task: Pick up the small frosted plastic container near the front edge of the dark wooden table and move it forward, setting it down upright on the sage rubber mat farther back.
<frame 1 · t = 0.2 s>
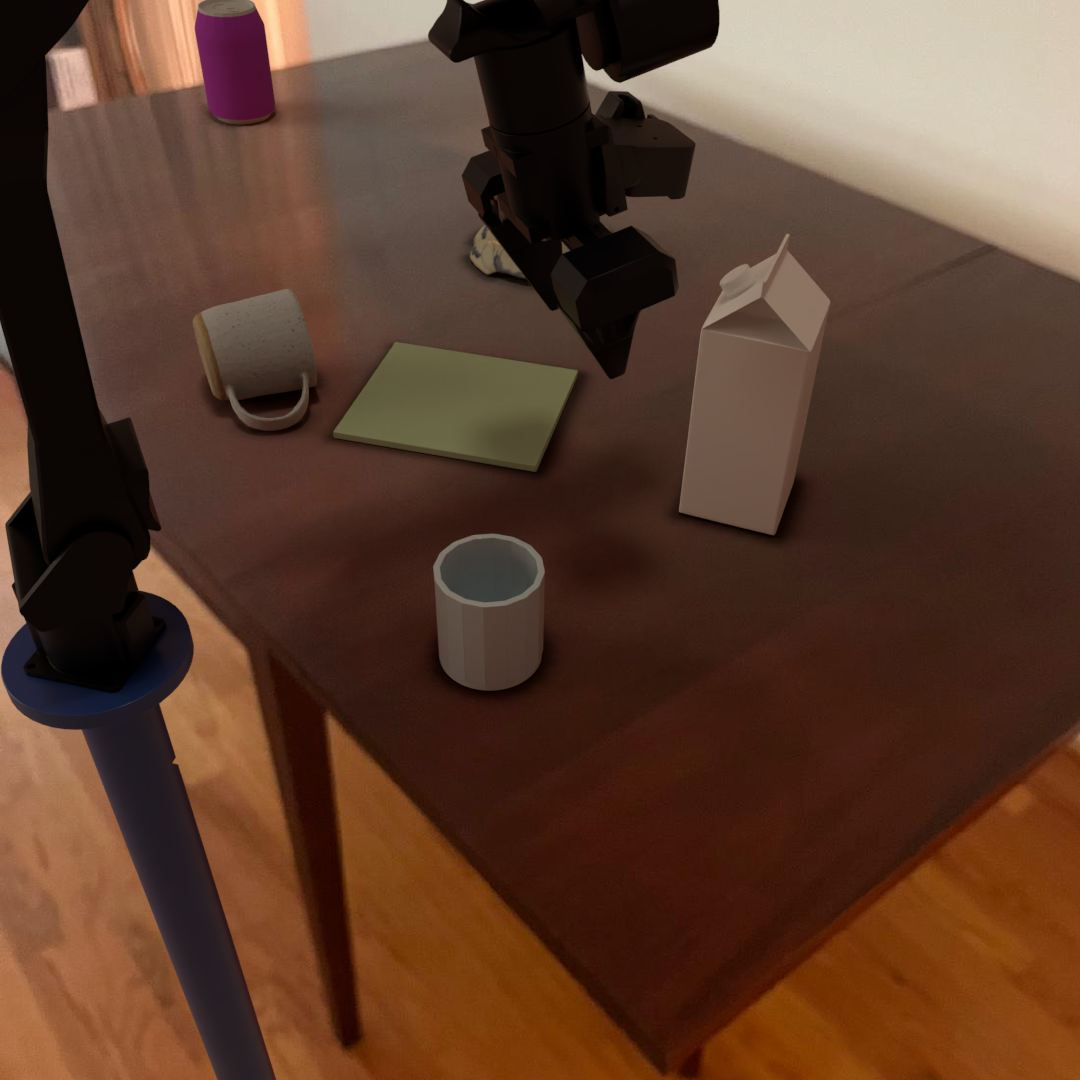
hand: (585, 340, 75), 13 cm above the table, tool pointing down, fingers open, 9 cm apart
mat: (461, 405, 91), on the table
container: (490, 653, 71), on the table
milk carton: (736, 500, 84), on the table
decorative bowl: (546, 255, 112), on the table
ceramic mug: (270, 398, 91), on the table
beverage can: (243, 116, 135), on the table
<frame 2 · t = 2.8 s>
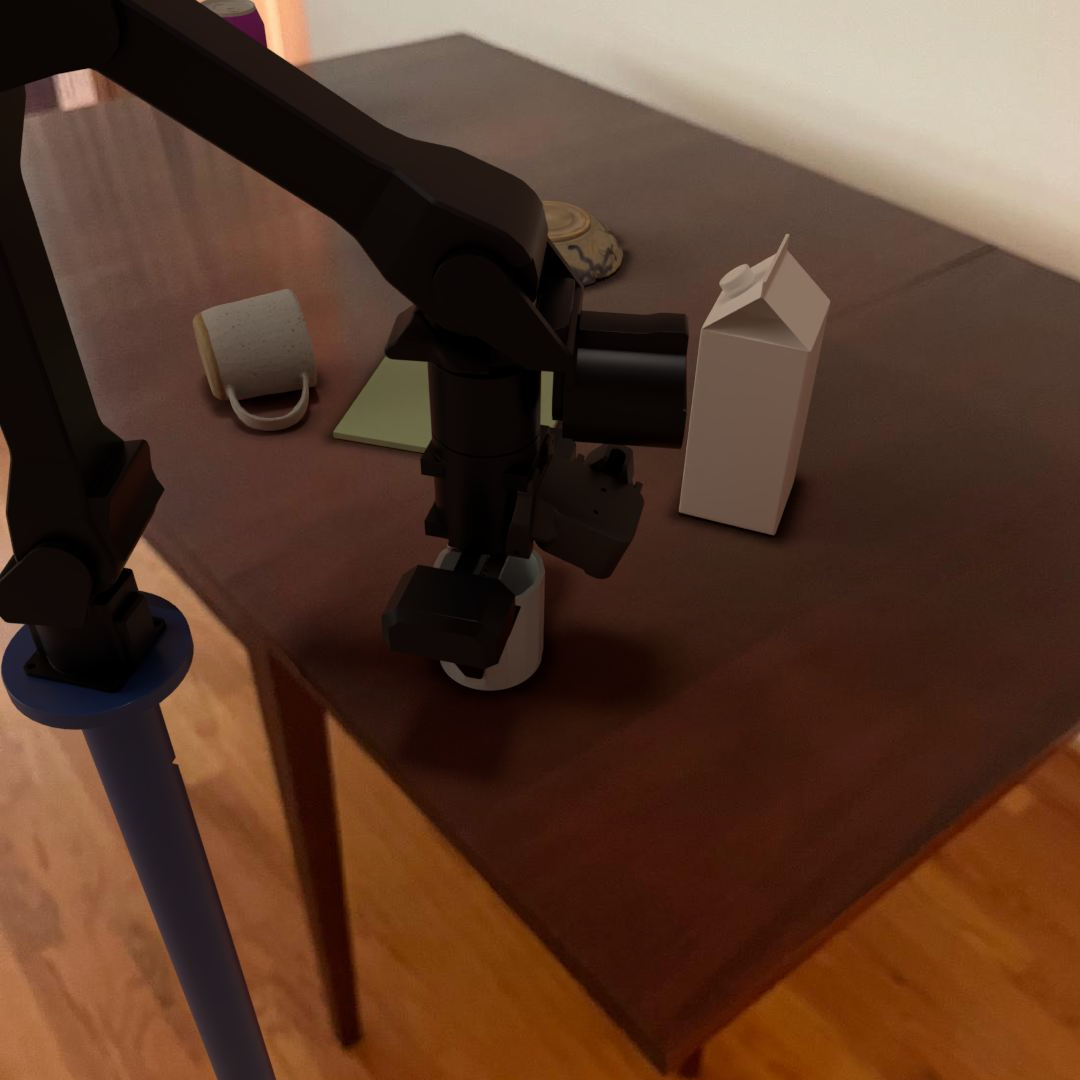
hand: (490, 638, 70), 1 cm above the table, tool pointing down, fingers closed on container, 6 cm apart
container: (490, 653, 71), on the table, touching gripper
everything else where it was.
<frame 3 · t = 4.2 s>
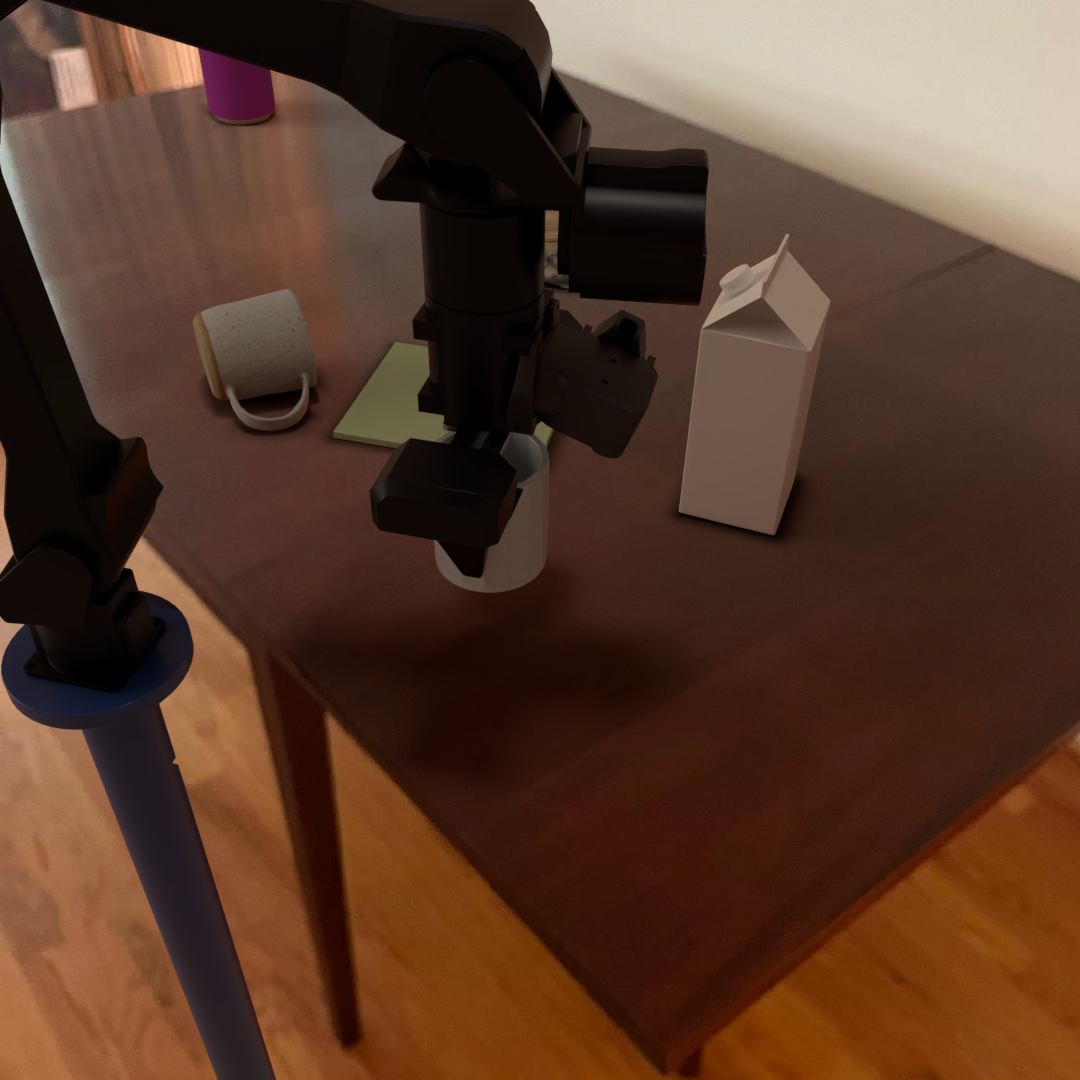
hand: (489, 537, 65), 9 cm above the table, tool pointing down, fingers closed on container, 6 cm apart
container: (491, 555, 66), point 8 cm above the table, touching gripper
everything else where it was.
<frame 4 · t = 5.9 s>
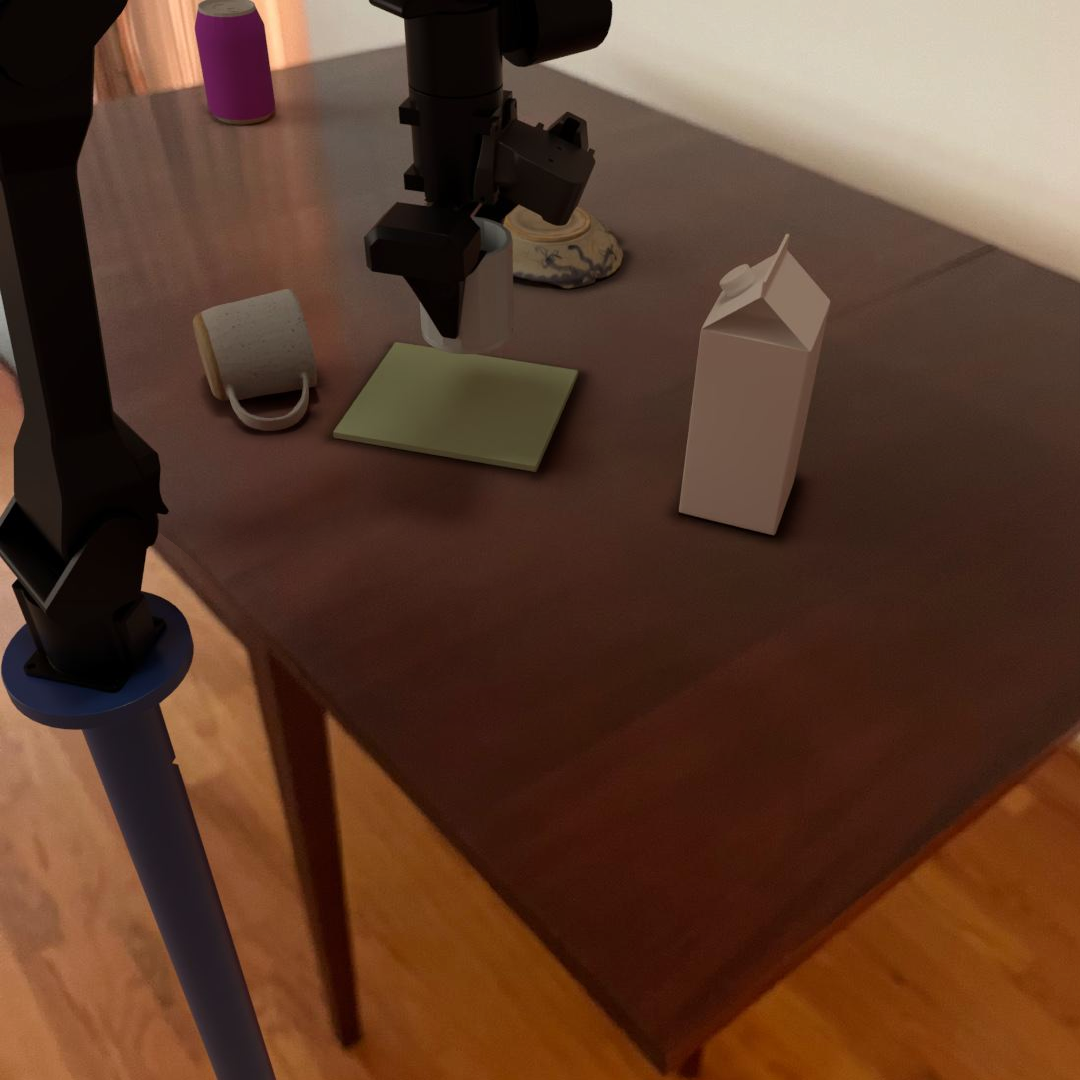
hand: (465, 313, 80), 11 cm above the table, tool pointing down, fingers closed on container, 6 cm apart
container: (467, 330, 80), point 10 cm above the table, touching gripper
everything else where it was.
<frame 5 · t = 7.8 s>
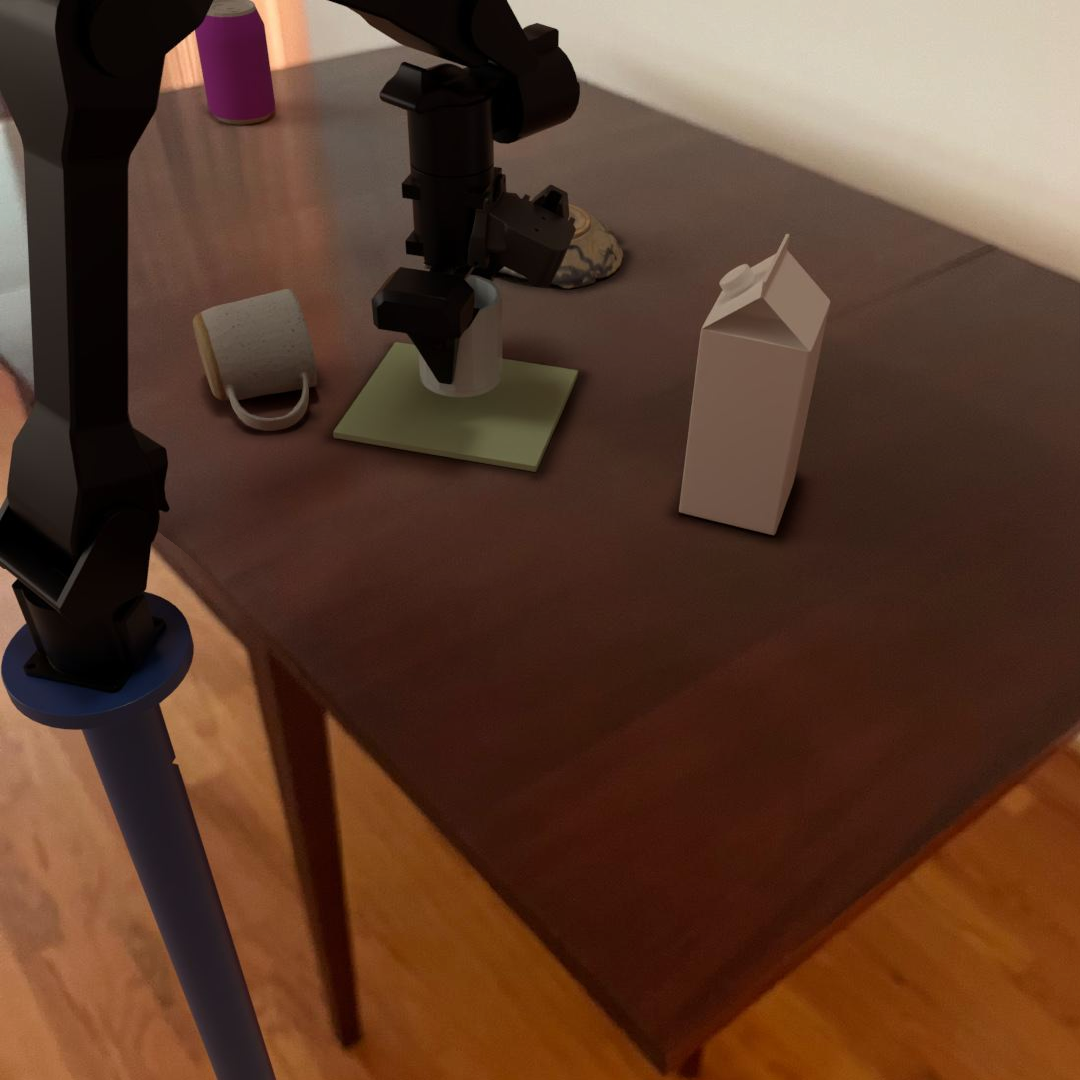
hand: (459, 360, 89), 4 cm above the table, tool pointing down, fingers closed on container, 6 cm apart
container: (460, 375, 89), point 3 cm above the table, touching gripper
everything else where it was.
when the fingers open (2 cm above the table, at t = 9.0 s): container stays where it is, resting on mat.
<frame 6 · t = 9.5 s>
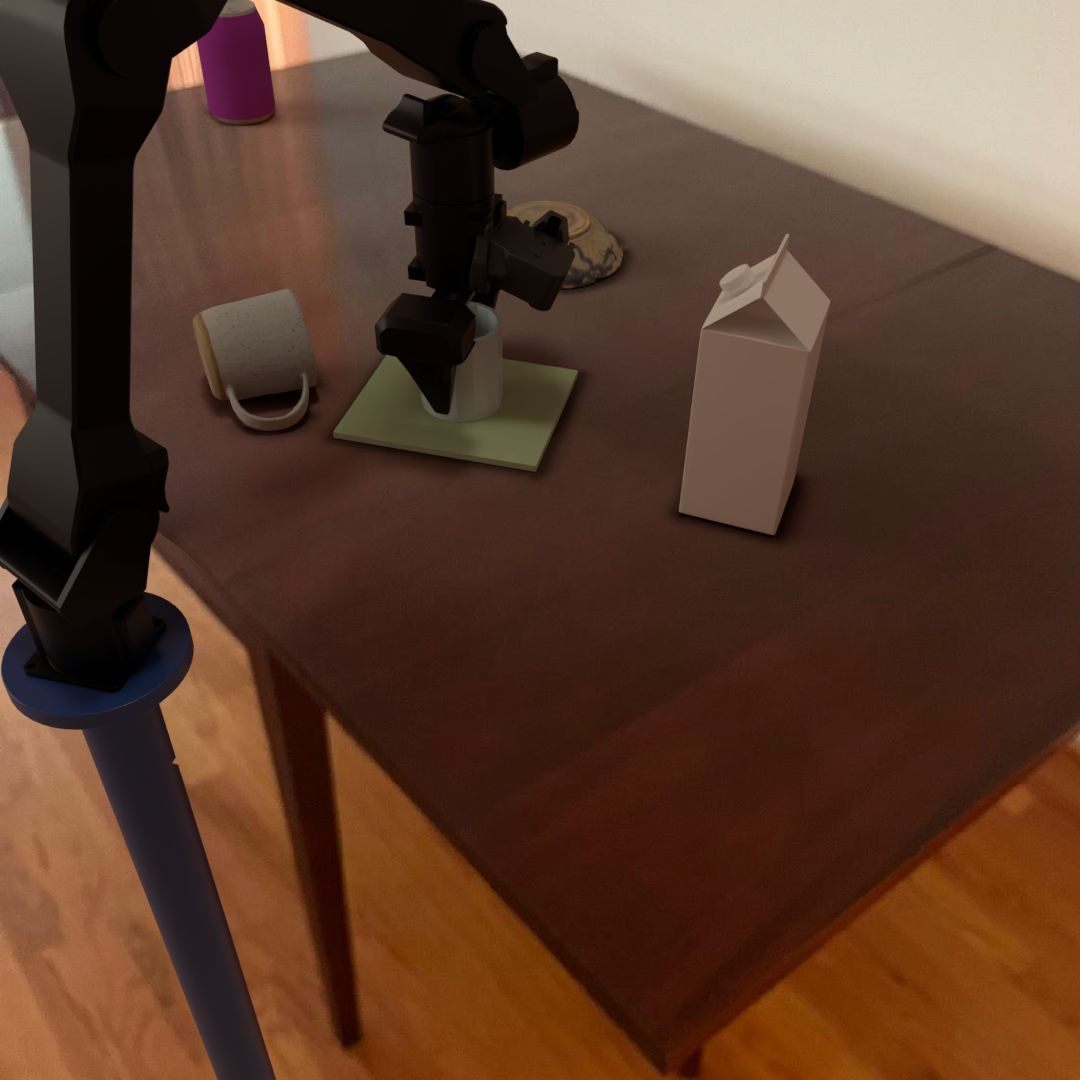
hand: (460, 381, 90), 2 cm above the table, tool pointing down, fingers open, 9 cm apart
container: (461, 399, 91), point 1 cm above the table, touching mat
everything else where it was.
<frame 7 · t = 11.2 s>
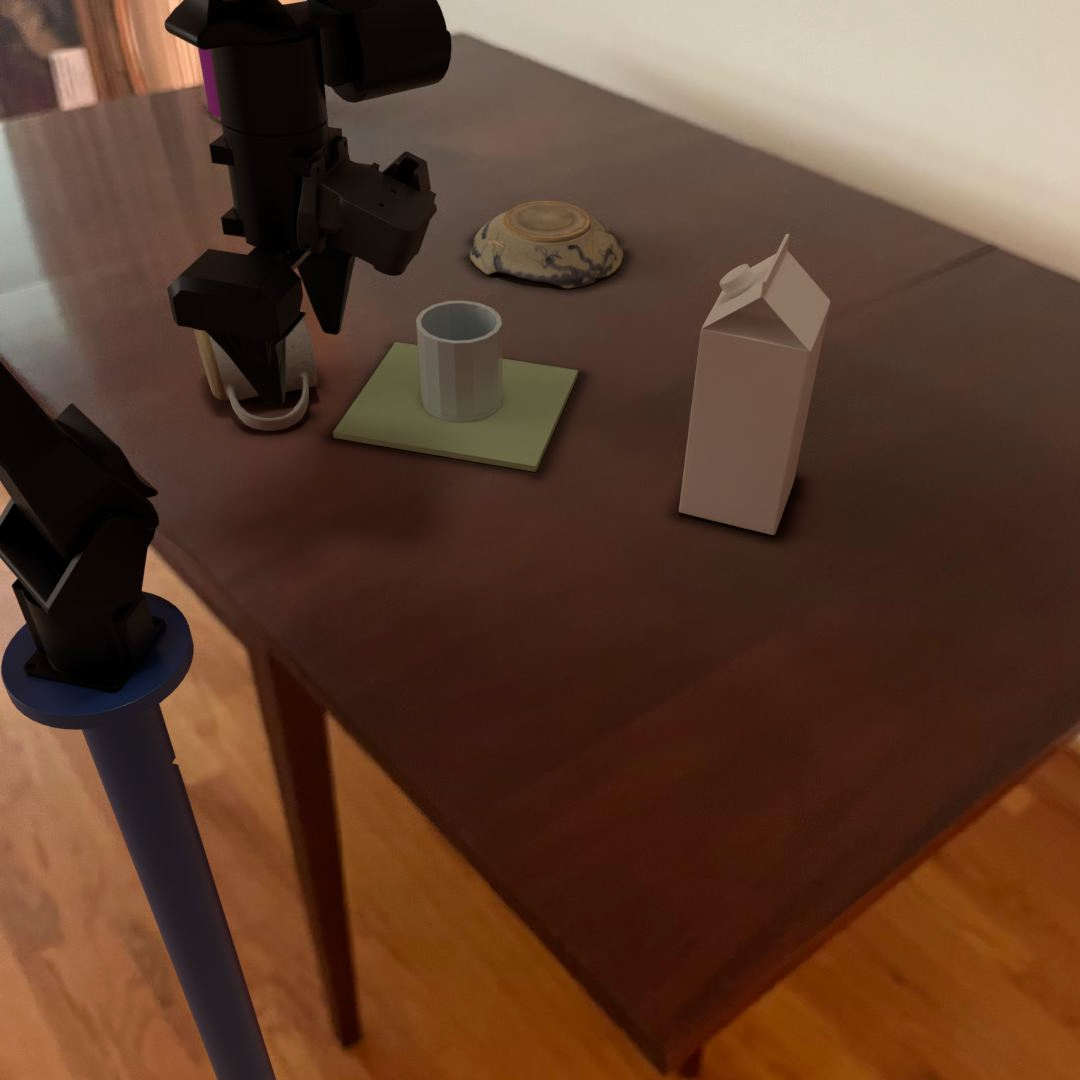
hand: (304, 366, 73), 12 cm above the table, tool pointing down, fingers open, 9 cm apart
nothing on the table moved.
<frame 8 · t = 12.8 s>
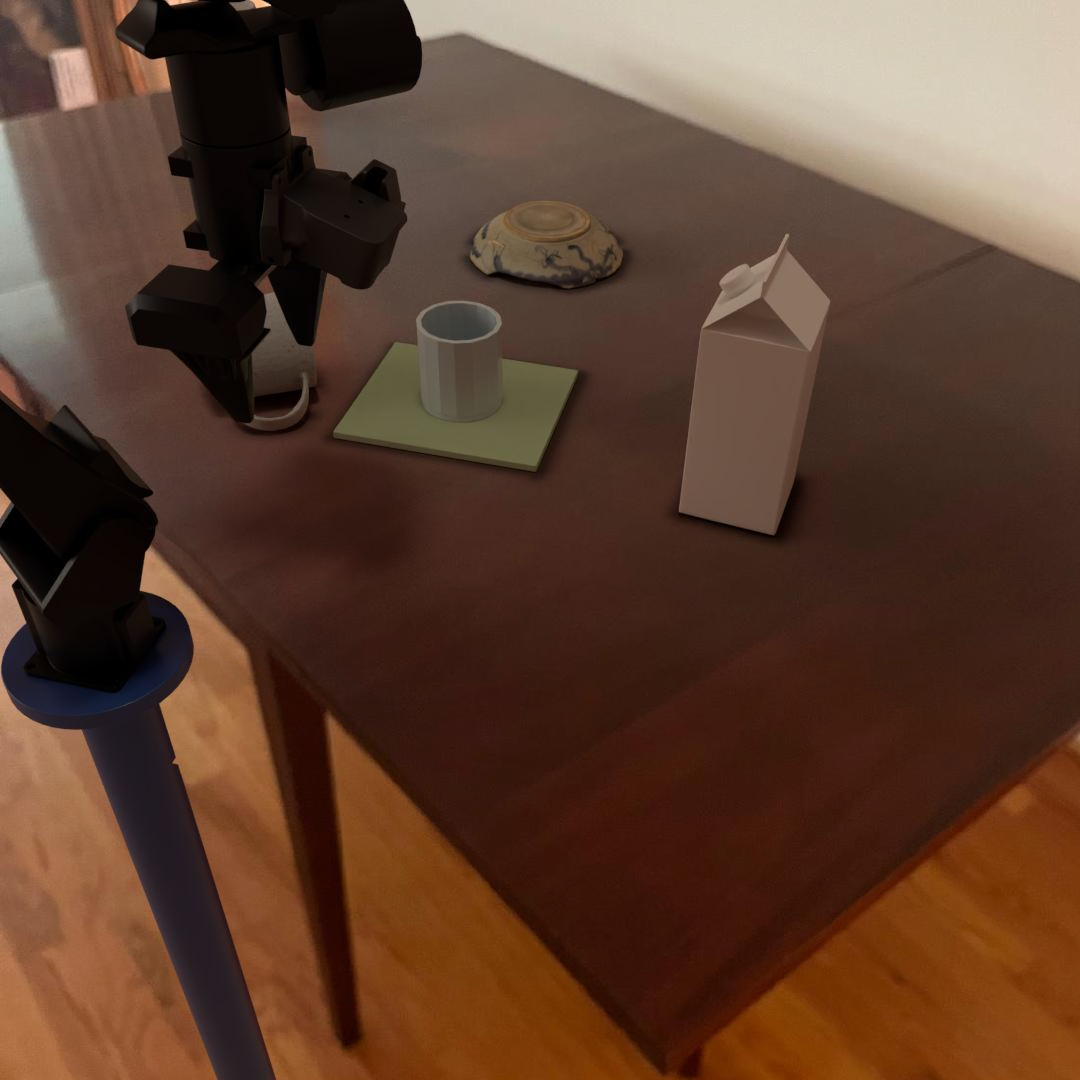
hand: (276, 381, 71), 12 cm above the table, tool pointing down, fingers open, 9 cm apart
nothing on the table moved.
at the end: container inside the target area on the mat (0.1 cm from its centre), point 0.6 cm above the mat's base; container tilted 0°; container moved 27.8 cm from its start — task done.
